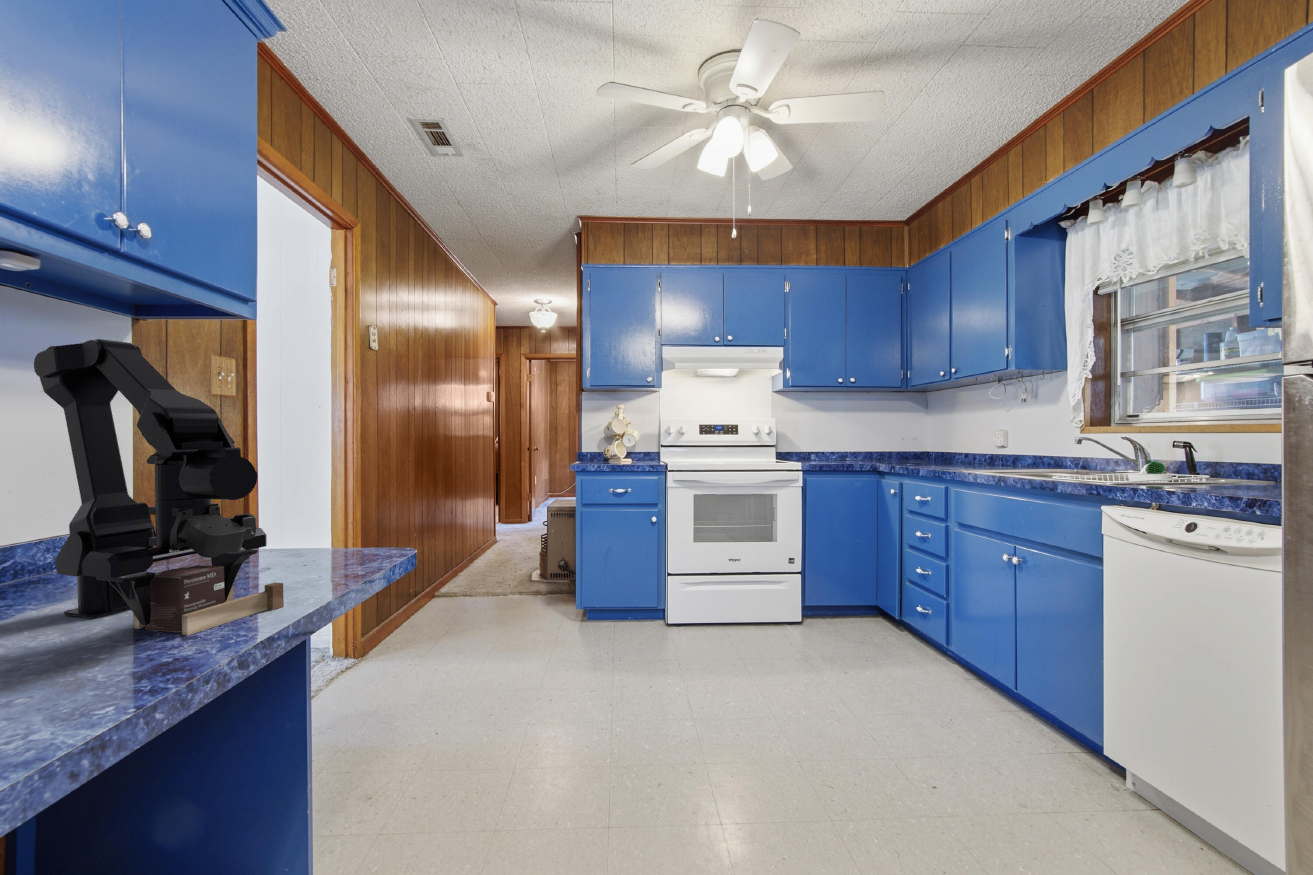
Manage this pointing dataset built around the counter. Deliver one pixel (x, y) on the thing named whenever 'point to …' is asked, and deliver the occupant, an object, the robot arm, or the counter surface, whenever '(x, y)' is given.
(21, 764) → the counter surface
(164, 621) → the box
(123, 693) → the counter surface
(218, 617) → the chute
